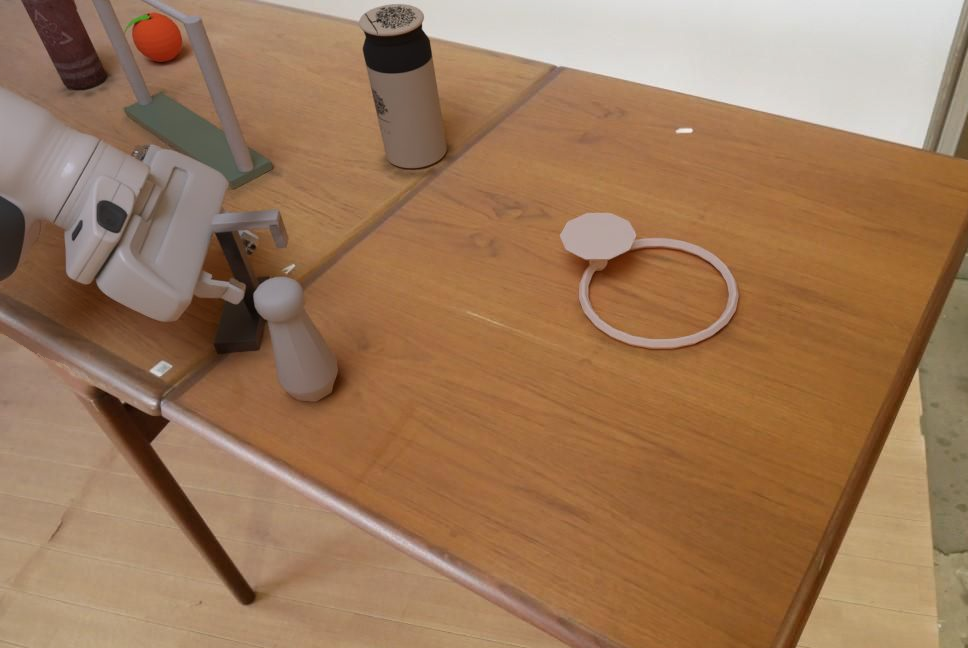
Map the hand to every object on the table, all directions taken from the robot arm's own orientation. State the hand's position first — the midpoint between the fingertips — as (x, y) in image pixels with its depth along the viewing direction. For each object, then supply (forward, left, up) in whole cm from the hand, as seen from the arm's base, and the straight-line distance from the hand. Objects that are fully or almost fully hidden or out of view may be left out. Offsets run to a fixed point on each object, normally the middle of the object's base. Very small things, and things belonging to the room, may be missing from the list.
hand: (249, 270), depth 85 cm
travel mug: (+4, +33, -7) cm, 34 cm away
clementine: (-45, +50, -7) cm, 67 cm away
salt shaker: (+9, -8, -7) cm, 14 cm away
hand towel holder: (+38, +13, -7) cm, 41 cm away
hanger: (-1, 0, -6) cm, 6 cm away
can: (-53, +42, -7) cm, 68 cm away
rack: (-27, +30, -6) cm, 40 cm away
